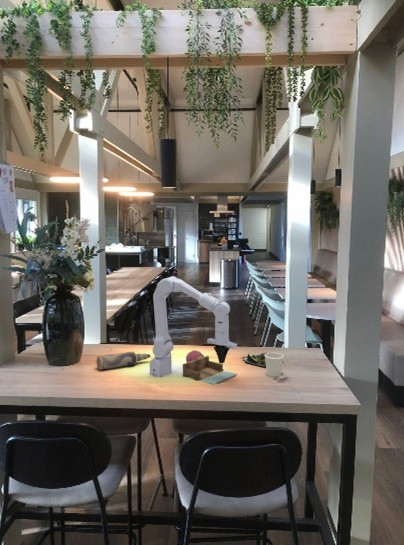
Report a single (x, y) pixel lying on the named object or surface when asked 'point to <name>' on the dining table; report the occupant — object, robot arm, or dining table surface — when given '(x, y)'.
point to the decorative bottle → (119, 360)
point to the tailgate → (219, 378)
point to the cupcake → (193, 355)
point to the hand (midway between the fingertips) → (221, 362)
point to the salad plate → (256, 360)
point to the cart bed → (201, 368)
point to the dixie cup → (274, 364)
